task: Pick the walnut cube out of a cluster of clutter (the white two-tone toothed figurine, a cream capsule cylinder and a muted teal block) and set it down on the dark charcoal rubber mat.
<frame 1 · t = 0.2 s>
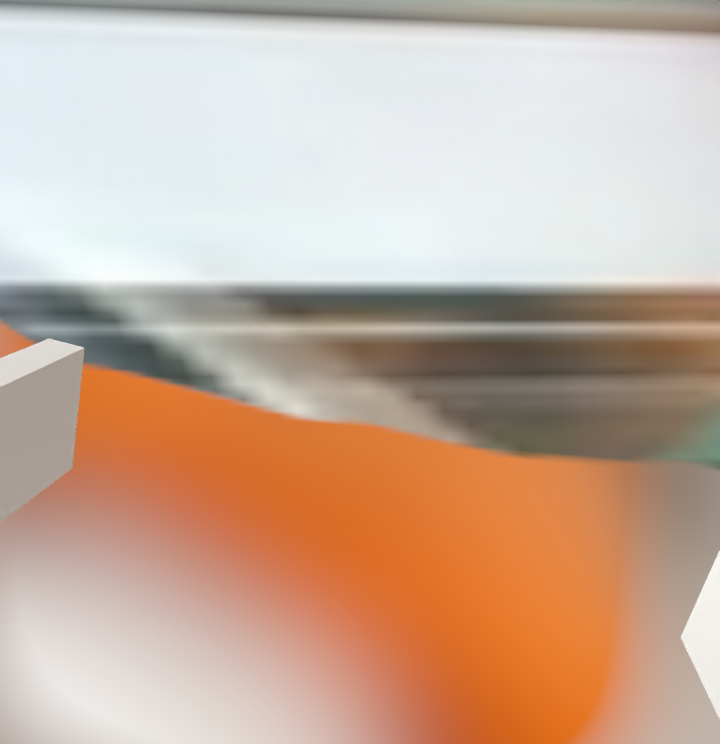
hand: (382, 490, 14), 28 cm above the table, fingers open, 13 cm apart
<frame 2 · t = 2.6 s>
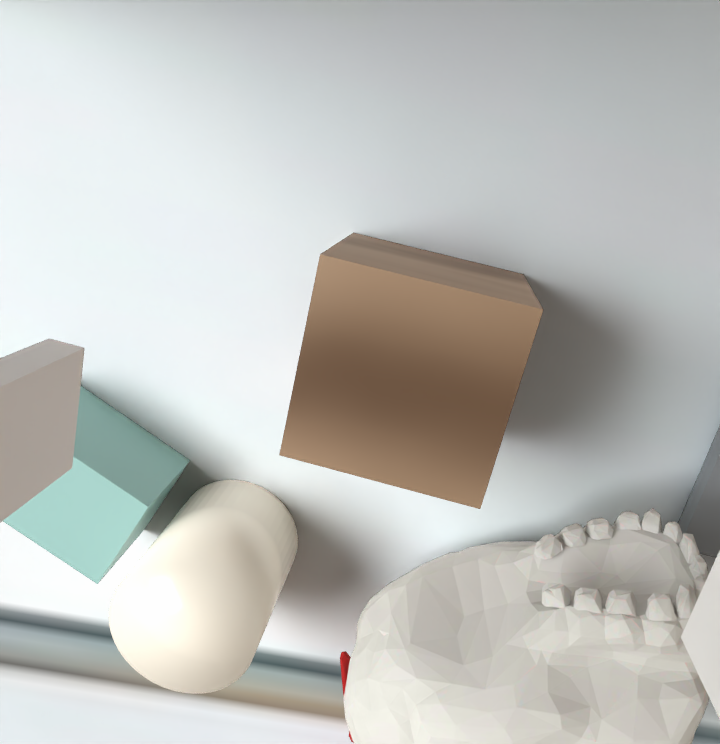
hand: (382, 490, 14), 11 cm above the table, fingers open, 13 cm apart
teal block: (106, 452, 28), on the table
walnut cube: (416, 334, 24), on the table
cream capsule cylinder: (238, 535, 28), on the table
white two-tone toothed figurine: (494, 625, 28), on the table
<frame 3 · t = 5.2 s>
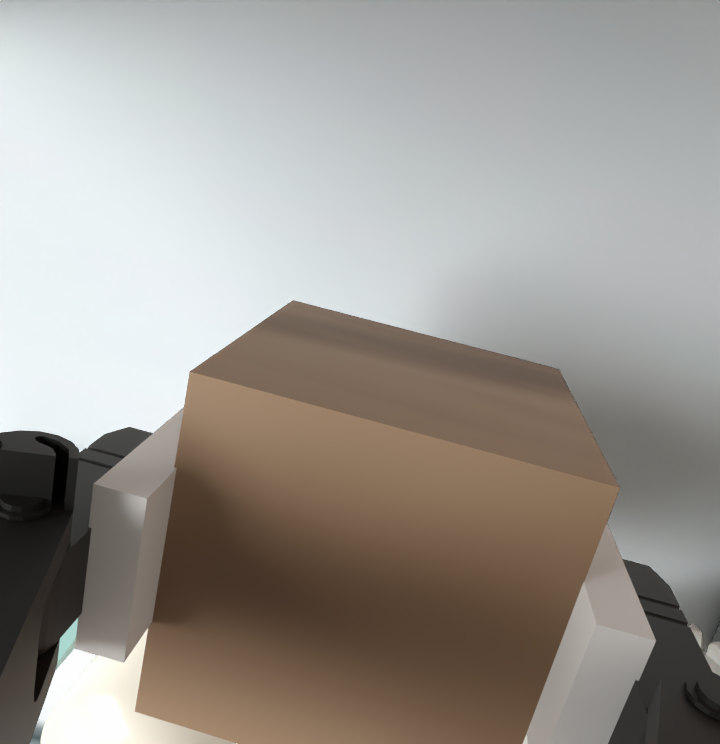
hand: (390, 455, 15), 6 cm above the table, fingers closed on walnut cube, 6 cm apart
teal block: (56, 534, 24), on the table
walnut cube: (391, 456, 16), point 5 cm above the table, touching gripper
cream capsule cylinder: (206, 630, 24), on the table
white two-tone toothed figurine: (501, 740, 24), on the table
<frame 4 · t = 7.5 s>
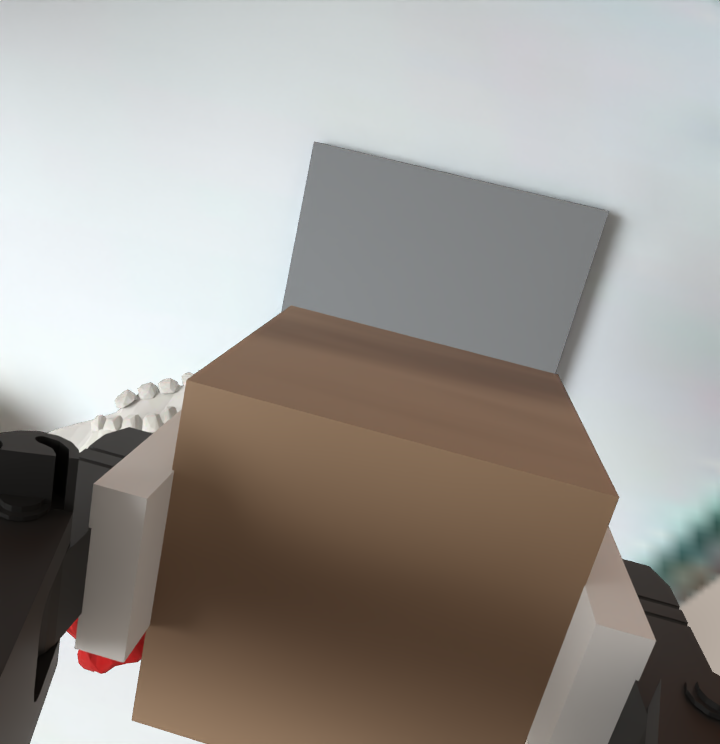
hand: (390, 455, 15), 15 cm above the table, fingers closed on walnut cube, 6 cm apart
walnut cube: (390, 461, 16), point 15 cm above the table, touching gripper
mat: (423, 315, 30), on the table
white two-tone toothed figurine: (152, 488, 34), on the table
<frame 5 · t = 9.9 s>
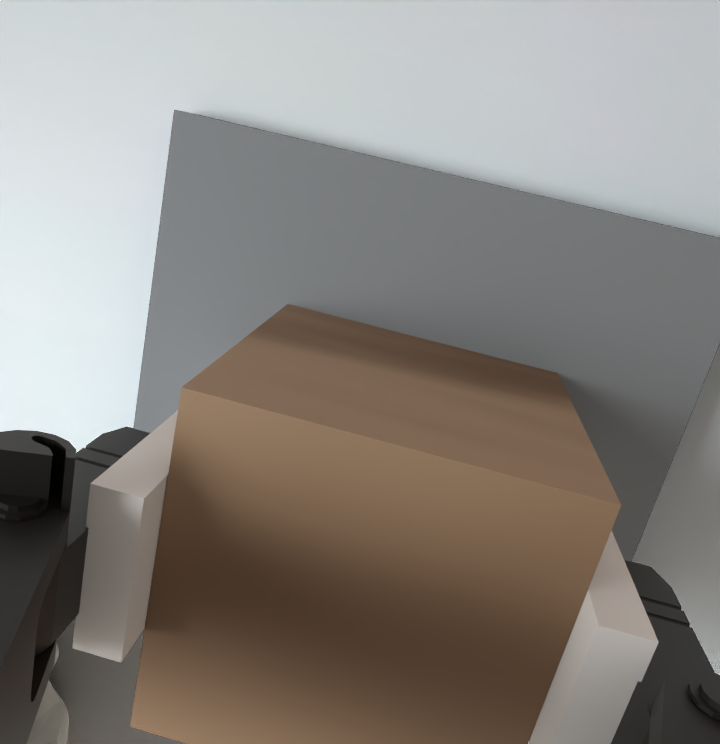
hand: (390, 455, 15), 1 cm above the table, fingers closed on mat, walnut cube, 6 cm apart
walnut cube: (388, 460, 16), point 1 cm above the table, touching gripper, mat
mat: (392, 431, 16), on the table
when the fingers open (1 cm above the table, at t = 10.3 s): walnut cube stays where it is, resting on mat.
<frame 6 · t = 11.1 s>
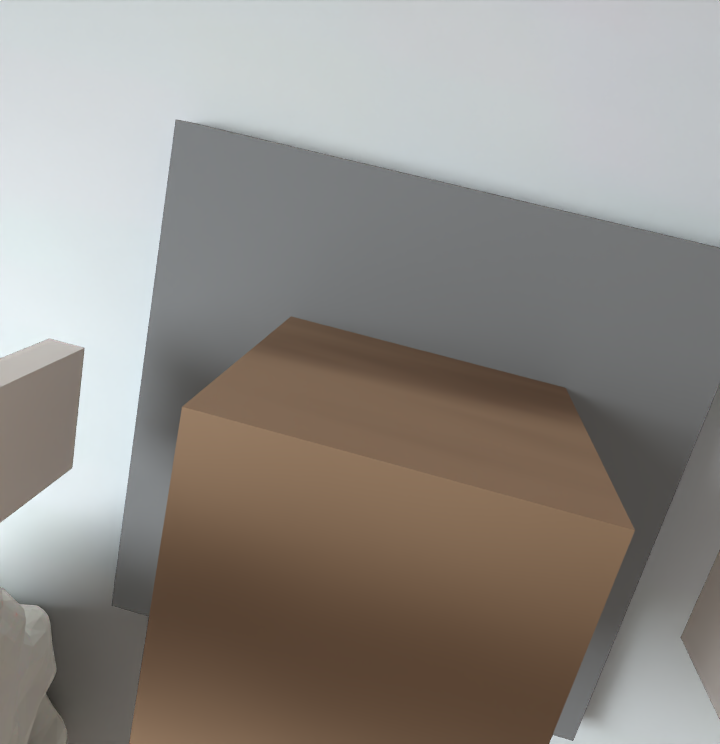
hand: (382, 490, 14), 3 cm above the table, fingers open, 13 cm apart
walnut cube: (392, 475, 15), point 1 cm above the table, touching mat
mat: (395, 444, 16), on the table
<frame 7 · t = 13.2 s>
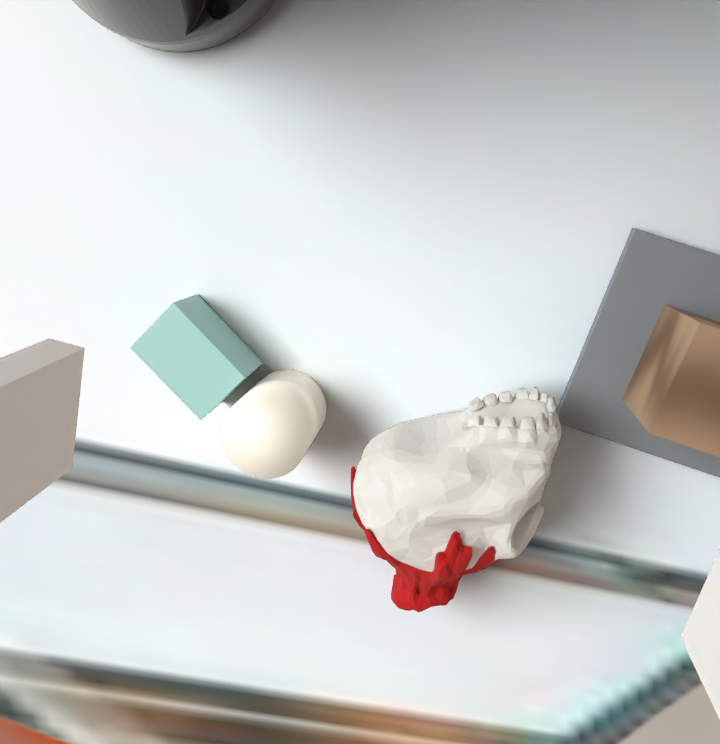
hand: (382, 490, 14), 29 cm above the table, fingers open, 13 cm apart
teal block: (211, 348, 44), on the table
walnut cube: (693, 369, 39), point 1 cm above the table, touching mat
mat: (690, 359, 40), on the table
cream capsule cylinder: (289, 406, 44), on the table
white two-tone toothed figurine: (444, 474, 44), on the table
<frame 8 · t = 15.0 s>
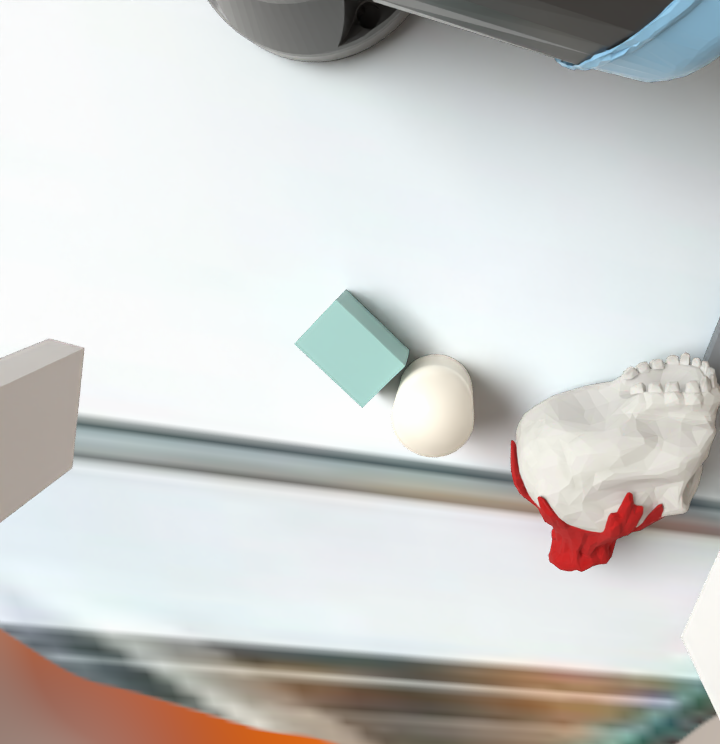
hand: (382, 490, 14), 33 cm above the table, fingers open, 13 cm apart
teal block: (358, 339, 47), on the table
cream capsule cylinder: (435, 389, 47), on the table
white two-tone toothed figurine: (588, 442, 47), on the table
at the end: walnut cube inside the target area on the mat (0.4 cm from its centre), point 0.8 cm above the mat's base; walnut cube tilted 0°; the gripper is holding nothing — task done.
